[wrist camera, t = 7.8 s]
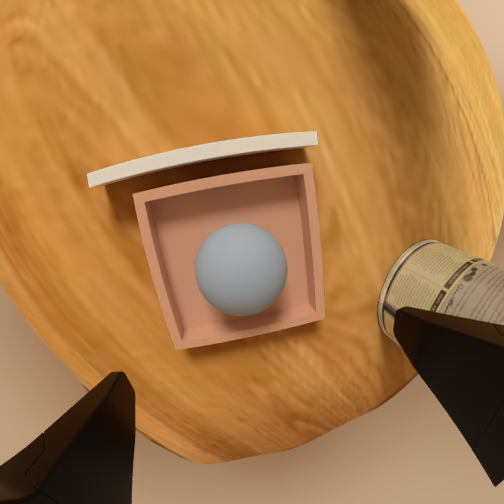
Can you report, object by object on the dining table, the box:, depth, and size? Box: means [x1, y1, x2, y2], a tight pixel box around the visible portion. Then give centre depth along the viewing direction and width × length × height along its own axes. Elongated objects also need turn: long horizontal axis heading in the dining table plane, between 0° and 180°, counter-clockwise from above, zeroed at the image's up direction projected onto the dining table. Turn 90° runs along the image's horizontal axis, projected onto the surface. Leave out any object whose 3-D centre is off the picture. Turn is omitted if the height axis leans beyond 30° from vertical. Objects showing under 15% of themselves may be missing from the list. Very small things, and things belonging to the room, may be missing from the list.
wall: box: [87, 131, 318, 188], centre depth 15 cm, size 13×1×2 cm, turn 99°
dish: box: [132, 163, 325, 350], centre depth 17 cm, size 10×10×2 cm
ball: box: [195, 223, 288, 316], centre depth 15 cm, size 5×5×5 cm
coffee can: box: [378, 239, 504, 351], centre depth 15 cm, size 10×10×14 cm
